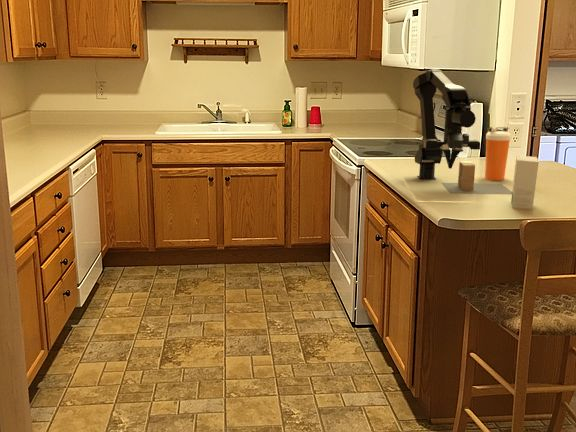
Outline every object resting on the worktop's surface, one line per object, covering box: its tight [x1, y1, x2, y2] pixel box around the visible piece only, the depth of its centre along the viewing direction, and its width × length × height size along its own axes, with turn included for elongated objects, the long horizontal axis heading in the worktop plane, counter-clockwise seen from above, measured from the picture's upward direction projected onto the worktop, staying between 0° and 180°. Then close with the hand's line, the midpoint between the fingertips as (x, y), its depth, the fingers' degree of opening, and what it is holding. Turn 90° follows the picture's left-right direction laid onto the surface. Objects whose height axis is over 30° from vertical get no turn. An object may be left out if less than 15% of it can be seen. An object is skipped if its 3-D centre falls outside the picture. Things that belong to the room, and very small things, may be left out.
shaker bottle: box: [484, 126, 512, 181], centre depth 245 cm, size 9×9×20 cm
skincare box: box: [510, 155, 539, 211], centre depth 204 cm, size 8×7×16 cm
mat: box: [441, 182, 512, 195], centre depth 230 cm, size 18×22×1 cm
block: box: [457, 160, 476, 190], centre depth 229 cm, size 7×4×9 cm, turn 177°
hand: (450, 168), depth 228 cm, fingers closed
